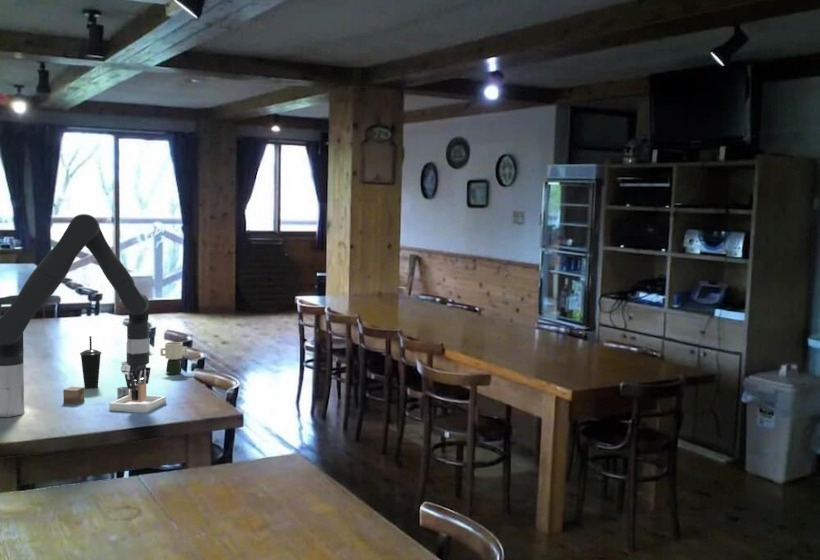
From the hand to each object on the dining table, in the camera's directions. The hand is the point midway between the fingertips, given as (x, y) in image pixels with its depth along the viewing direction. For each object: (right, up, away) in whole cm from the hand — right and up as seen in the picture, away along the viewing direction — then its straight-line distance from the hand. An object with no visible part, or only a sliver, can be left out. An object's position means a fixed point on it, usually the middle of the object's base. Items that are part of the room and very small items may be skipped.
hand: (138, 398), depth 281 cm
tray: (0, -3, 0) cm, 3 cm away
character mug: (-4, +2, +55) cm, 56 cm away
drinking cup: (-28, 0, +27) cm, 39 cm away
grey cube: (-9, -2, +11) cm, 15 cm away
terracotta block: (0, -1, 0) cm, 1 cm away
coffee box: (-34, +7, +102) cm, 107 cm away
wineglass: (-9, -1, +18) cm, 20 cm away
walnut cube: (-25, -2, +5) cm, 25 cm away
